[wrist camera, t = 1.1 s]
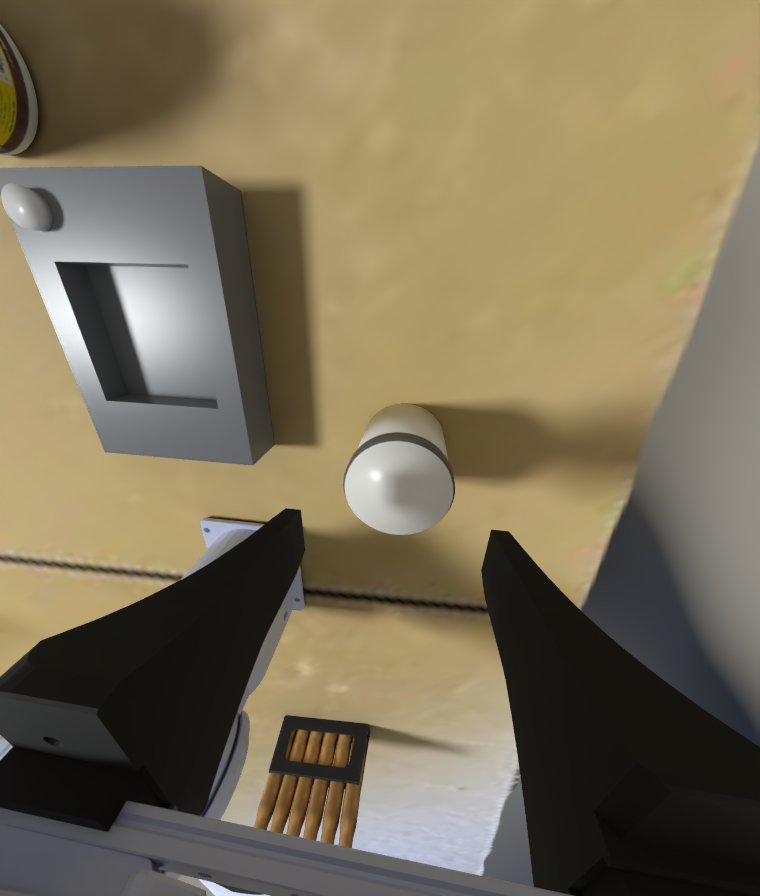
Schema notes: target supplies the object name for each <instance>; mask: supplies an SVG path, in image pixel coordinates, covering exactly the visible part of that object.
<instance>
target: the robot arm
mask: <svg viewBox="0 0 760 896" xmlns="http://www.w3.org/2000/svg"><path fill="white" fill-rule="evenodd" d="M200 525H201V529H202V532H203V536H204V539H205V543H206V546H207V550H206V551H205V552H204V554H203V555H202V556H201V557H200V558H199V559H198V560H197V562H196V563H195V564H194V565H193V566H192V567H191V568H190V570H189V571H188V572H187V573H186V574H185V575H184V576H183V578H182V579H181V580H180V581H178V582H176V583H174V584H172V585H170V586H168V587H166V588H164V589H162V590H160V591H158V592H156V593H154V594H152V595H150V596H149V597H146V598H144V599H142V600H140V601H138V602H136V603H134V604H131V605H129V606H127V607H125V608H122V609H120V610H118V611H115V612H113V613H111V614H109V615H106V616H104V617H101V618H99V619H96V620H94V621H92V622H89V623H86V624H84V625H81V626H78V627H76V628H73V629H71V630H68V631H65V632H63V633H60V634H57V635H55V636H52V637H49V638H47V639H44V640H41V641H40V642H39V643H38V644H37V645H36V646H34V647H33V648H32V649H31V650H30V651H29V652H28V653H27V654H25V655H24V656H23V657H22V658H21V659H20V660H19V661H18V662H16V663H15V664H14V665H13V666H12V667H11V668H10V669H8V670H7V671H6V672H5V673H4V674H3V675H2V676H1V677H0V735H1V737H0V896H206V891H205V890H203V889H201V888H198V887H195V886H193V885H190V884H187V883H185V882H182V881H179V880H178V878H179V877H180V875H185V876H190V877H194V878H198V879H202V880H207V881H211V882H215V883H219V884H224V885H228V886H232V887H236V888H241V889H245V890H249V891H253V892H258V893H262V894H266V895H270V896H760V747H759V746H757V745H755V744H754V743H753V742H751V741H750V740H748V739H747V738H745V737H744V736H742V735H741V734H739V733H738V732H736V731H735V730H733V729H732V728H730V727H729V726H727V725H726V724H724V723H723V722H721V721H720V720H718V719H717V718H715V717H714V716H712V715H711V714H709V713H708V712H706V711H705V710H704V709H702V708H701V707H699V706H698V705H697V704H695V703H694V702H692V701H691V700H690V699H688V698H687V697H686V696H684V695H683V694H682V693H680V692H679V691H677V690H676V689H675V688H673V687H672V686H671V685H669V684H668V683H667V682H665V681H664V680H663V679H661V678H660V677H659V676H657V675H656V674H655V673H653V672H652V671H651V670H649V669H648V668H647V667H646V666H645V665H643V664H642V663H641V662H639V661H638V660H637V659H636V658H634V657H633V656H632V655H631V654H630V653H628V652H627V651H626V650H625V649H623V648H622V647H621V646H620V645H618V644H617V643H616V642H615V641H614V640H613V639H612V638H610V637H609V636H608V635H607V634H606V633H605V632H604V631H602V630H601V629H600V628H599V627H598V626H597V625H596V624H595V623H594V622H592V621H591V620H590V619H589V618H588V617H587V616H586V615H585V614H584V613H583V612H582V611H581V610H580V609H578V608H577V607H576V606H575V605H574V604H573V603H572V602H571V601H570V600H569V599H568V598H567V597H566V596H565V595H564V594H563V593H562V591H561V590H560V589H559V588H558V587H557V586H556V585H555V584H554V583H553V582H552V581H551V580H550V579H549V578H548V577H547V575H546V574H545V573H544V572H543V571H542V570H541V569H540V568H539V567H538V565H537V564H536V563H535V562H534V561H533V560H532V558H531V557H530V556H529V555H528V554H527V553H526V551H525V550H524V549H523V548H522V547H521V545H520V544H519V543H518V542H517V541H516V540H515V538H514V537H513V536H512V535H511V534H510V532H508V531H499V530H491V533H490V537H489V541H488V546H487V550H486V554H485V558H484V562H483V566H482V570H481V571H482V579H483V587H484V594H485V600H486V604H487V608H488V612H489V616H490V620H491V623H492V627H493V631H494V635H495V639H496V643H497V646H498V650H499V654H500V658H501V662H502V666H503V670H504V675H505V679H506V685H507V691H508V696H509V702H510V708H511V714H512V721H513V727H514V734H515V740H516V747H517V753H518V760H519V768H520V775H521V782H522V790H523V797H524V805H525V813H526V822H527V829H528V838H529V847H530V855H531V864H532V873H533V883H534V887H531V886H525V885H520V884H516V883H512V882H507V881H502V880H498V879H493V878H488V877H484V876H479V875H474V874H470V873H465V872H460V871H455V870H451V869H446V868H441V867H437V866H432V865H427V864H423V863H418V862H413V861H409V860H404V859H399V858H394V857H390V856H385V855H380V854H376V853H371V852H366V851H362V850H357V849H352V848H348V847H343V846H338V845H333V844H329V843H324V842H319V841H315V840H310V839H305V838H301V837H296V836H291V835H287V834H282V833H277V832H272V831H268V830H263V829H258V828H254V827H249V826H244V825H240V824H235V823H230V822H226V821H221V820H220V819H221V817H222V815H223V813H224V812H225V810H226V808H227V806H228V804H229V801H230V799H231V797H232V795H233V793H234V790H235V788H236V786H237V783H238V781H239V778H240V775H241V772H242V769H243V766H244V763H245V759H246V755H247V750H248V744H249V730H250V721H249V716H248V715H247V713H246V712H245V711H243V710H242V709H243V707H244V705H245V703H246V700H247V698H248V696H249V695H250V694H251V693H252V692H253V691H254V690H255V689H256V687H257V686H258V685H259V684H260V682H261V681H262V679H263V677H264V675H265V673H266V671H267V669H268V666H269V664H270V662H271V659H272V657H273V654H274V652H275V650H276V647H277V645H278V643H279V640H280V638H281V635H282V633H283V631H284V628H285V626H286V624H287V621H288V619H289V617H290V614H291V612H292V610H298V611H301V610H303V608H304V606H305V603H304V594H303V585H302V577H301V568H300V563H301V560H302V557H303V554H304V551H305V546H304V536H303V526H302V517H301V510H296V509H284V510H283V511H282V512H280V513H279V514H278V515H276V516H275V517H274V518H272V519H271V520H270V521H268V522H267V523H266V524H259V523H250V522H241V521H232V520H222V519H213V518H204V519H203V520H202V521H201V522H200Z"/></svg>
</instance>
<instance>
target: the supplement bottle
mask: <svg viewBox="0 0 760 896" xmlns="http://www.w3.org/2000/svg"><path fill="white" fill-rule="evenodd" d="M37 125H38V105H37V99H36V94H35V90H34V86H33V83H32V79H31V77H30V74H29V71H28V69H27V67H26V64H25V62H24V60H23V58H22V56H21V54H20V52H19V51H18V49H17V47H16V46H15V44H14V42H13V41H12V39H11V38H10V36H9V35H8V33H7V32H6V31H5V29H4V28H3V27H2V26H1V24H0V155H14V154H18V153H20V152H23V151H24V150H25V149H27V147H28V146H29V145H30V144H31V143H32V141H33V139H34V137H35V134H36V130H37Z"/></svg>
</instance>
